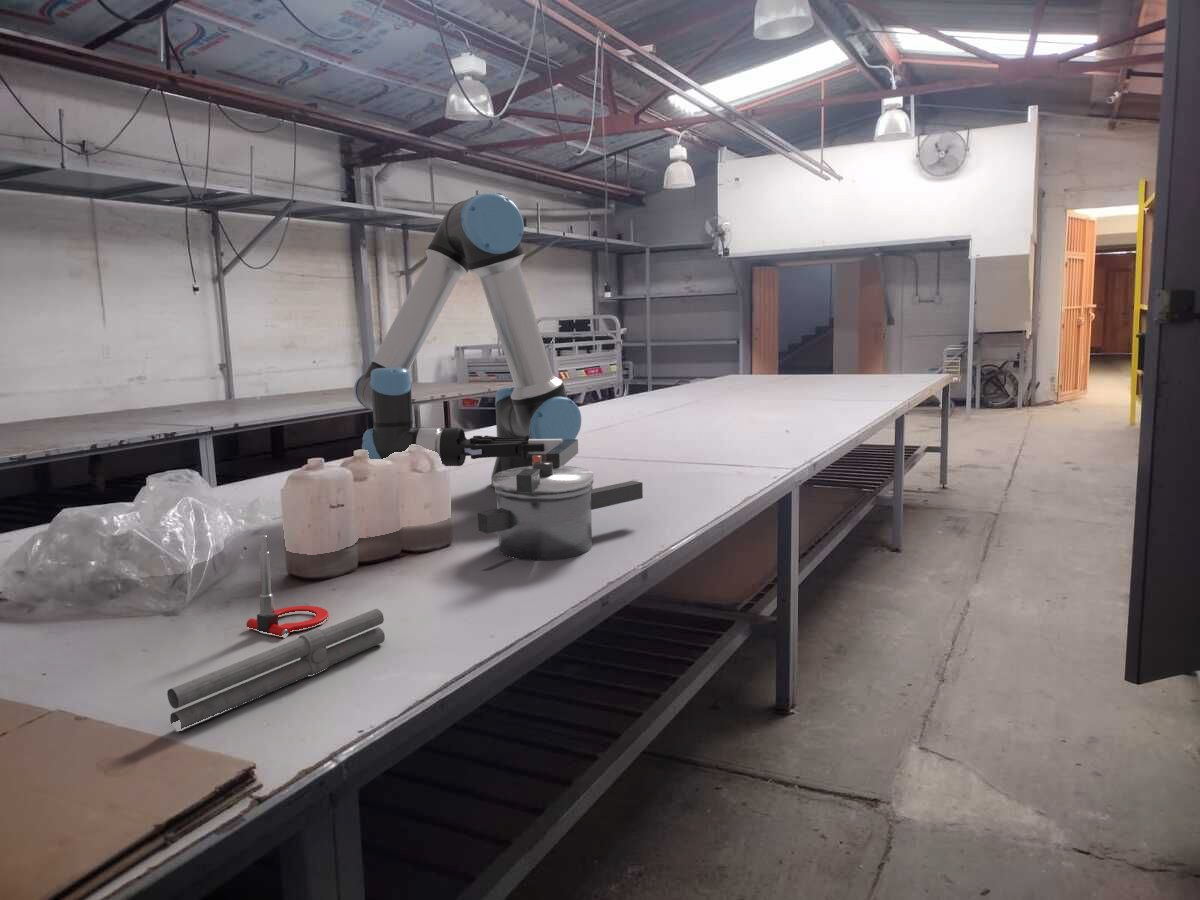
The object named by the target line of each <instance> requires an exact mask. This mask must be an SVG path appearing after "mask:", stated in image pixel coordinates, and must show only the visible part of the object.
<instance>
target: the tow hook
mask: <svg viewBox="0 0 1200 900" xmlns="http://www.w3.org/2000/svg"><path fill="white" fill-rule="evenodd" d="M259 537H260V538H259V539H260V551H259V553H258V554H259V573H260V593H261V594H260V595H259V597H258V598H259V613H258V614H256V618H249V619H248V620H247V621H246V626H245V627H246V628H247V627H249V628H253V629H257V630H259V631H263V632H267V633H272V634H275V635H279V636H282V635H284V634H285V633H286V634H287V633H289V634H291V633H290V631H292V630H299V629H303V628H308V627H312V626H315V625H317V624H319V623H321V622H323V621H324V620H325V619H327V617H328V618H329V611H328V610H327V609H325V608H323V607H319V606H316V605H315V606H314V605H313V606H312V605H295V606H286V607H281V608H278V609H274V608H275V604H274V603H275V601H274V594H273V593H272V581H271V580H272V579H271V560H270V559H271V556H270V551H268V536H267V535H265V534H263V535H260V536H259ZM295 611H309V612H312V613H315V614H316V616H314V617H312V618H310V619H307V620H303V621H299V622H285V623H282V624H280V625H279V618H278V616H279V615H282V614H285V613H289V612H295Z"/></svg>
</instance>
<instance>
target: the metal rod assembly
mask: <svg viewBox="0 0 1200 900" xmlns="http://www.w3.org/2000/svg"><path fill="white" fill-rule="evenodd" d="M384 619H385V618H384V614H383V612H382V611H381V610H380V609H378V608H375V609H372V610H370V611H366V612H365V613H364V612H363V613H362V614H359V615H356V616H353V617H352V618H349V619H346V620H344V621H341V622H339V623H338V622H337V624H333V625H331V626H328V627H325V628H323V629H319V628H317V629H314V630H310V631H308V632H306V633H303V634H301V635H299V636H298V637H297V638H295V639H294V640H291V641H287V642H286V643H283V644H281V645H278V646H276V647H273V648H270V649H268V650H266V651H263V652H261V653H257V654H256V655H253V656H251V657H248V658H245V659H243V660H240V661H237V662H235V663H232V664H231V665H227V666H225V667H223V668H220V669H217V670H214V671H212V672H209V673H206V674H204V675H203V676H200V677H197V678H194V679H192V680H190V681H187V682H184V683H181V684H179V685H177V686H176V685H175V686H174V687H172V688H170V689H168V690H167V694H166V695H167V700H168V703H169V705H170V706H171V708H173V709H175V710H176V709H179V708H181V707H183V708H181V709H179V710H176V711H174V712H172V713H171V714H170V717H169V718H170V724H172V723H173V722H176V721H178V720H180V722H181V729H182V728H184V727H187V726H189V725H192V724H194V723H196V722H199V721H201V720H203V719H206V718H208V717H210V716H214V715H215V714H217V713H221V712H223V711H225V710H228V709H230V708H234V707H236V706H238V707H240V706H239V705H241V704H243V703H245V702H248V701H250V700H252V699H254V700H256V699H255V698H257V697H259V696H261V695H264V694H266V695H268V694H270V693H272V692H271V691H273V690H275V691H277V690H279V689H278V688H280V687H282V688H284V687H286V686H288V685H287V684H289V685H291V684H293V683H295V682H294V681H296V680H298V681H300V680H302V679H304V678H303V677H305V676H308V675H313V674H316V673H318V672H320V671H322V670H324V669H326V668H329V667H330V666H329V665H331V666H333V665H335V664H337V663H339V661H340V662H341V660H342V661H344V660H346V659H349V658H350V656H351V657H353V656H355V655H357V654H359V652H360V653H361V651H362V652H364V651H366V650H369V649H371V648H373V647H375V645H376V646H377V645H380V644H382V643H384V642H385V640H386V639H385V637H386V636H385V632H384V630H383V629H382V628H381V627H377V626H379V625H382V624H383V623H384ZM374 627H375V628H374ZM370 629H371V630H370ZM355 635H356V636H355ZM350 637H351V638H350ZM348 638H349V639H348ZM343 640H344V641H343ZM368 648H369V649H368ZM352 655H353V656H352ZM348 657H349V658H348ZM345 658H346V659H345ZM343 659H344V660H343ZM336 662H337V663H336ZM334 663H335V664H334ZM332 664H333V665H332ZM280 666H282V667H280ZM328 666H329V667H328ZM275 668H277V669H275ZM273 669H274V670H273ZM271 670H272V671H271ZM269 671H270V672H269ZM261 674H262V675H261ZM259 675H260V676H259ZM256 676H257V677H256ZM252 678H253V679H252ZM301 678H302V679H301ZM305 678H306V677H305ZM299 679H300V680H299ZM246 680H248V681H246ZM292 682H293V683H292ZM296 682H297V681H296ZM240 683H241V684H240ZM290 683H291V684H290ZM236 684H238V685H236ZM235 685H236V686H235ZM285 685H286V686H285ZM232 686H233V687H232ZM283 686H284V687H283ZM229 687H231V688H229ZM228 688H229V689H228ZM225 689H226V690H225ZM276 689H277V690H276ZM280 689H281V688H280ZM222 690H223V691H222ZM220 691H221V692H220ZM218 692H219V693H218ZM269 692H270V693H269ZM273 692H274V691H273ZM215 693H217V694H215ZM267 693H268V694H267ZM213 694H214V695H213ZM208 696H210V697H208ZM264 696H265V695H264ZM205 697H207V698H205ZM261 697H262V696H261ZM203 698H205V699H203ZM259 698H260V697H259ZM200 699H202V700H200ZM257 699H258V698H257ZM199 700H200V701H199ZM195 701H198V702H196V703H193V702H195ZM252 701H253V700H252ZM250 702H251V701H250ZM190 703H193V704H191V705H190ZM248 703H249V702H248ZM188 704H189V705H188ZM245 704H246V703H245ZM186 705H188V706H186ZM243 705H244V704H243ZM184 706H186V707H184ZM241 706H242V705H241ZM236 708H237V707H236ZM234 709H235V708H234Z"/></svg>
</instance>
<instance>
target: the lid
mask: <svg viewBox="0 0 1200 900" xmlns="http://www.w3.org/2000/svg"><path fill="white" fill-rule="evenodd" d="M577 454H579V439H578V438H576V439H566V440H564V441H563V442H562V443H560V444H559V445H557V446H556V447H555V448H553V449H552V450H550V451H549V452H548V453H546V462H545V461H544V462H542V459H541V455H533V456H532V466H527V467H519V468H513V469H508V470H504V471H501V472H498V473H496V474H495V475H494V476H493V486H494V487H495V488H497V489H500V490H503V491H508V492H515V493H530V494H540V493H558V492H566V491H572V490H577V489H581V488H585V487H587V486H590V485H591V484H594V483H595V482H594V472H593V471H592V470H590V469H588V468H584V467H581V466H574V465H573V466H572V465H566V464H567V463H569V461H571V460H572V459H573V458H574V457H575V456H576V455H577ZM495 488H494V489H495Z"/></svg>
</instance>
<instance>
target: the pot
mask: <svg viewBox="0 0 1200 900" xmlns="http://www.w3.org/2000/svg"><path fill="white" fill-rule="evenodd" d="M593 484H594V483H592V484H591V485H590V486H587V487H585V488H581V489H577V490H572V491H566V492H558V493H540V494H530V493H515V492H508V491H503V490H500V489H497V488H494V493H495V494H496V505H497V508H494V509H490V510H485V511H481V512H477V522H478V523H477V524H478V525H477V527H478V531H479V532H480V533H484V534H487V535H489V534H493V533H498V550H500V551H499V552H500V553H501V552H502V553H503V554H502V553H501V554H502V555H503V556H506V555H507V556H506V557H508V556H510V557H509V558H511V557H514V558H513V559H515V558H517V559H516V560H523V561H534V562H535V561H537V562H539V561H540V562H541V561H557V560H565V559H569V558H574V557H578V556H580V555H583V554H586V553H587V552H588V551H590V550H591V549H592V547H593V529H592V528H593V527H592V524H593V521H592V510H597V509H602V508H606V507H610V506H615V505H618V504H624V503H627V502H628V503H629V502H633V501H636V500H641V499H643V492H644V489H643V482H641V481H636V480H630V481H629V480H628V481H625V482H620V483H615V484H611V485H605V486H601V487H596V488H593Z"/></svg>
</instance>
